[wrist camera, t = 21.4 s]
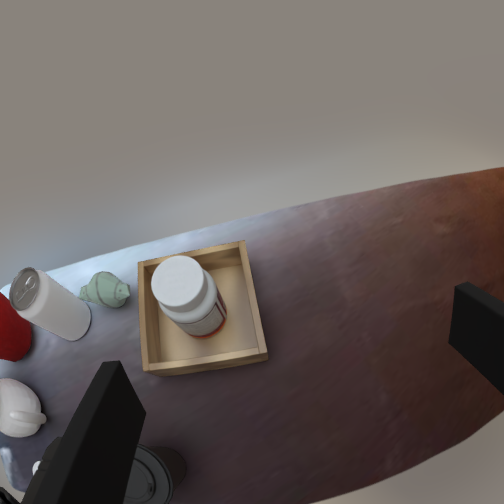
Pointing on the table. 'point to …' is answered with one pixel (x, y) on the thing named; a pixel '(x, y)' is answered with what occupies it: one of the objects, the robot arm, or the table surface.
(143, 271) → the holder
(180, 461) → the coffee cup
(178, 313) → the pill bottle
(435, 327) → the table surface
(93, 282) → the green rounded faceted piece
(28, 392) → the cat figurine
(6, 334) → the apple
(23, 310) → the can
